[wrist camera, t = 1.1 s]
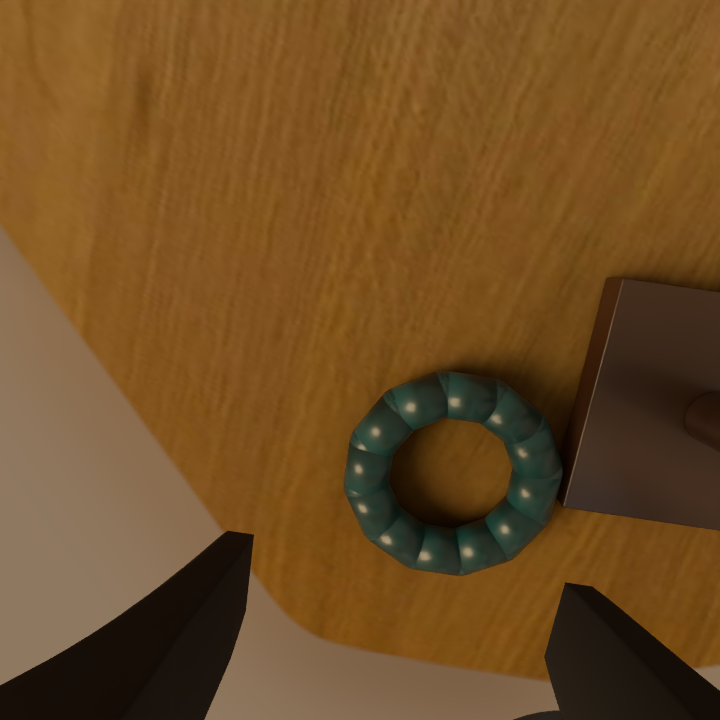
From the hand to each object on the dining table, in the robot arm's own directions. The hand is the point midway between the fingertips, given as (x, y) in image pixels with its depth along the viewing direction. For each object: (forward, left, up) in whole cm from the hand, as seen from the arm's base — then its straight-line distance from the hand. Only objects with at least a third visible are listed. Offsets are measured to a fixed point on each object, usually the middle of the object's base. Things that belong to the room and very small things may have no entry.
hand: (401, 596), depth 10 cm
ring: (0, -3, -8) cm, 8 cm away
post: (+4, -12, -8) cm, 15 cm away
